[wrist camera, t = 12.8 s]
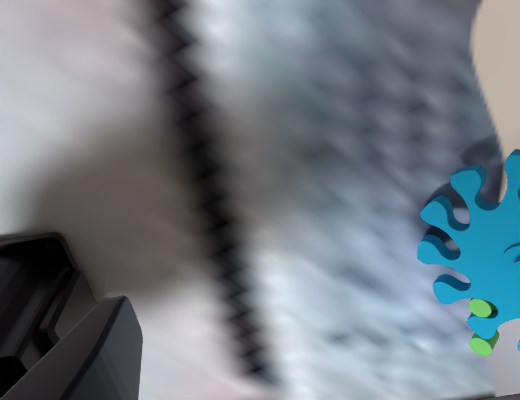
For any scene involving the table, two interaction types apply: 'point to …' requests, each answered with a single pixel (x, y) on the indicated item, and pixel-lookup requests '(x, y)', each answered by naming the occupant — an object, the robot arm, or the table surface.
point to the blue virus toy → (479, 252)
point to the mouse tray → (505, 397)
